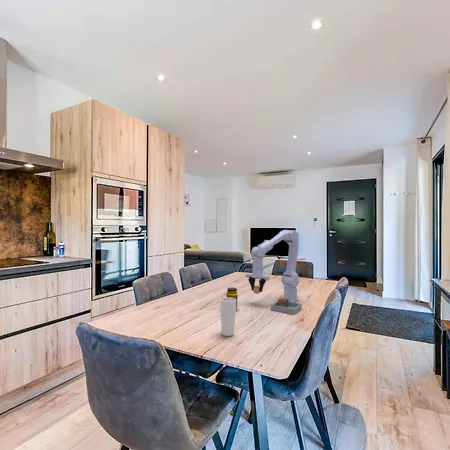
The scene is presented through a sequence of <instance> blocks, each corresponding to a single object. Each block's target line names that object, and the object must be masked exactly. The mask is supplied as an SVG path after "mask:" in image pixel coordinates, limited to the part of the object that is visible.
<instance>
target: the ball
mask: <svg viewBox="0 0 450 450" xmlns="http://www.w3.org/2000/svg"><path fill="white" fill-rule="evenodd" d="M259 288H260V285H255V287H254V288H253V291H252V292H253V293H254V294H256V295H257V294H260V293H261V292H260V291H259Z"/></svg>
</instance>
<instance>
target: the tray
mask: <svg viewBox="0 0 450 450" xmlns="http://www.w3.org/2000/svg"><path fill="white" fill-rule="evenodd" d="M302 309H303V308H302V303H298V302H289V301H288V307H287V308H286V307H281V306H278V300H277V301H276V302H274V303H272V304H270V311H272V312H277V313H282V314H287V315H291V316H295V315H296V314H298V312H300V311H301V310H302Z"/></svg>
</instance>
